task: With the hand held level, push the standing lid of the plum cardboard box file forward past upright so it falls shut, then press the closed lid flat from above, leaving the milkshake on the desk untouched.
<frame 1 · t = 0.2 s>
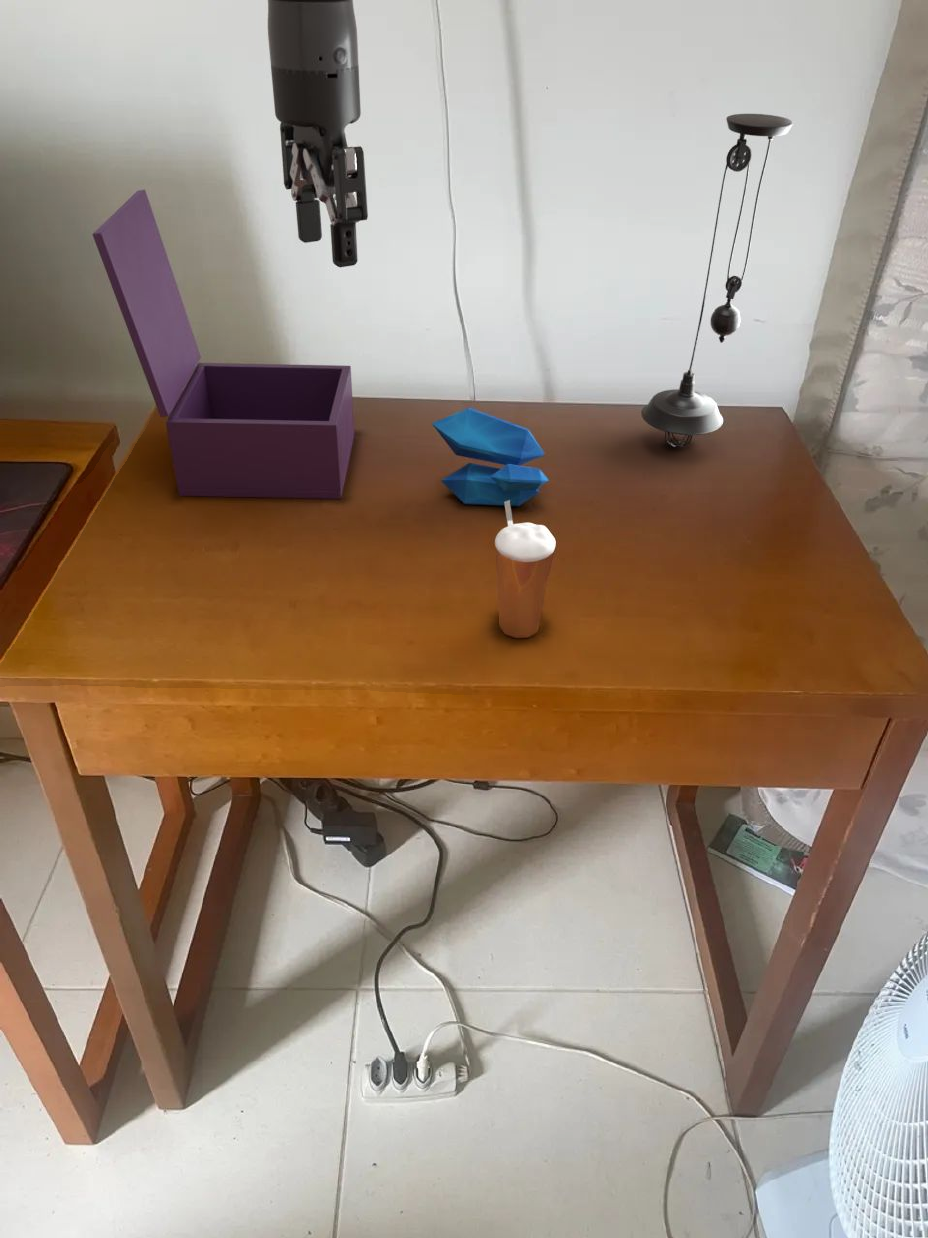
hand: (327, 252, 94), 19 cm above the table, tool pointing down, fingers open, 8 cm apart
light fixture: (682, 445, 105), on the table
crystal: (488, 499, 95), on the table
box file: (271, 463, 100), on the table
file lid: (152, 302, 90), point 16 cm above the table, hinge at 100.0°
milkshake: (516, 625, 79), on the table
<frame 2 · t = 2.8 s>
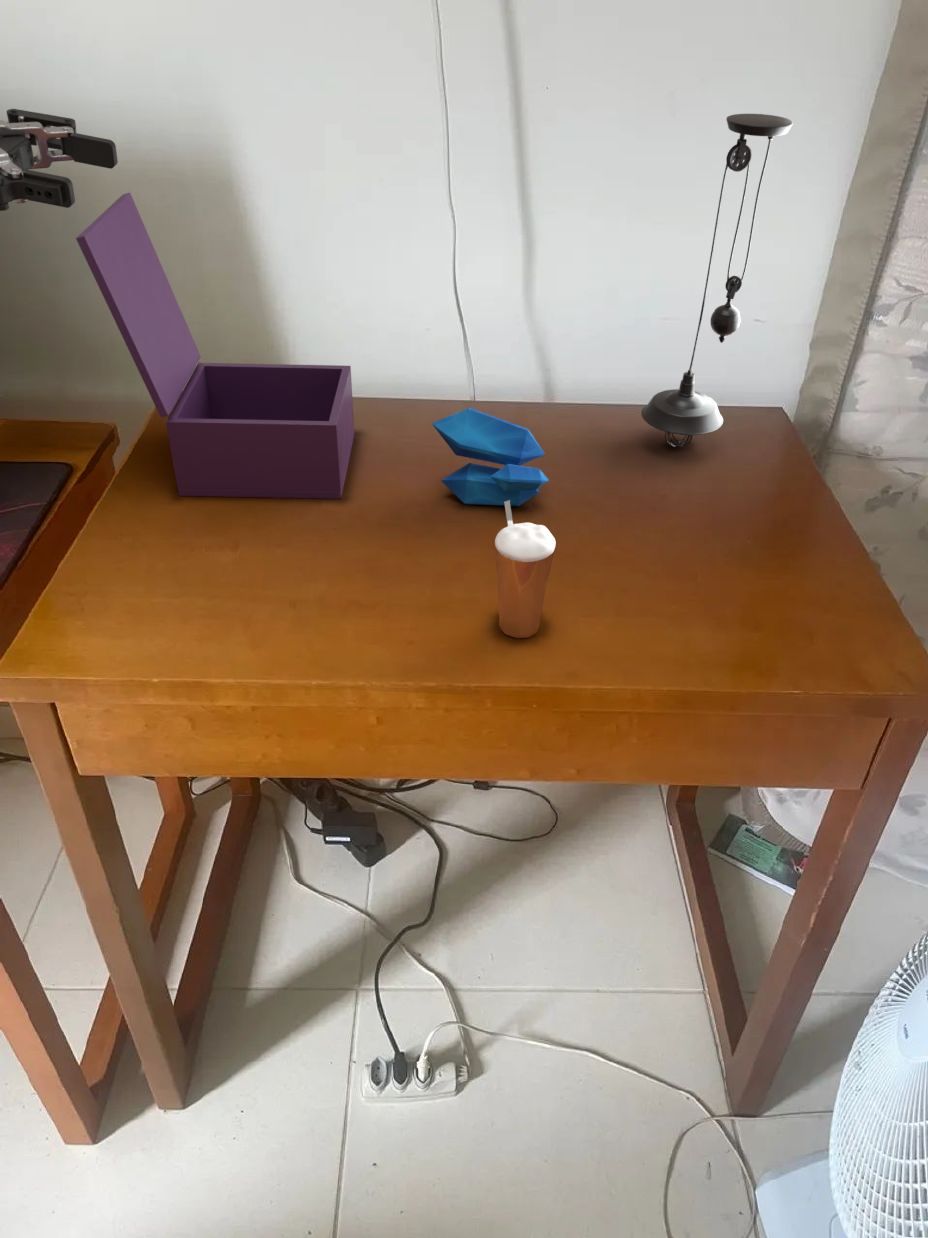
hand: (94, 173, 82), 28 cm above the table, tool horizontal, fingers open, 8 cm apart
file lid: (145, 304, 90), point 16 cm above the table, hinge at 105.1°
everything else where it was.
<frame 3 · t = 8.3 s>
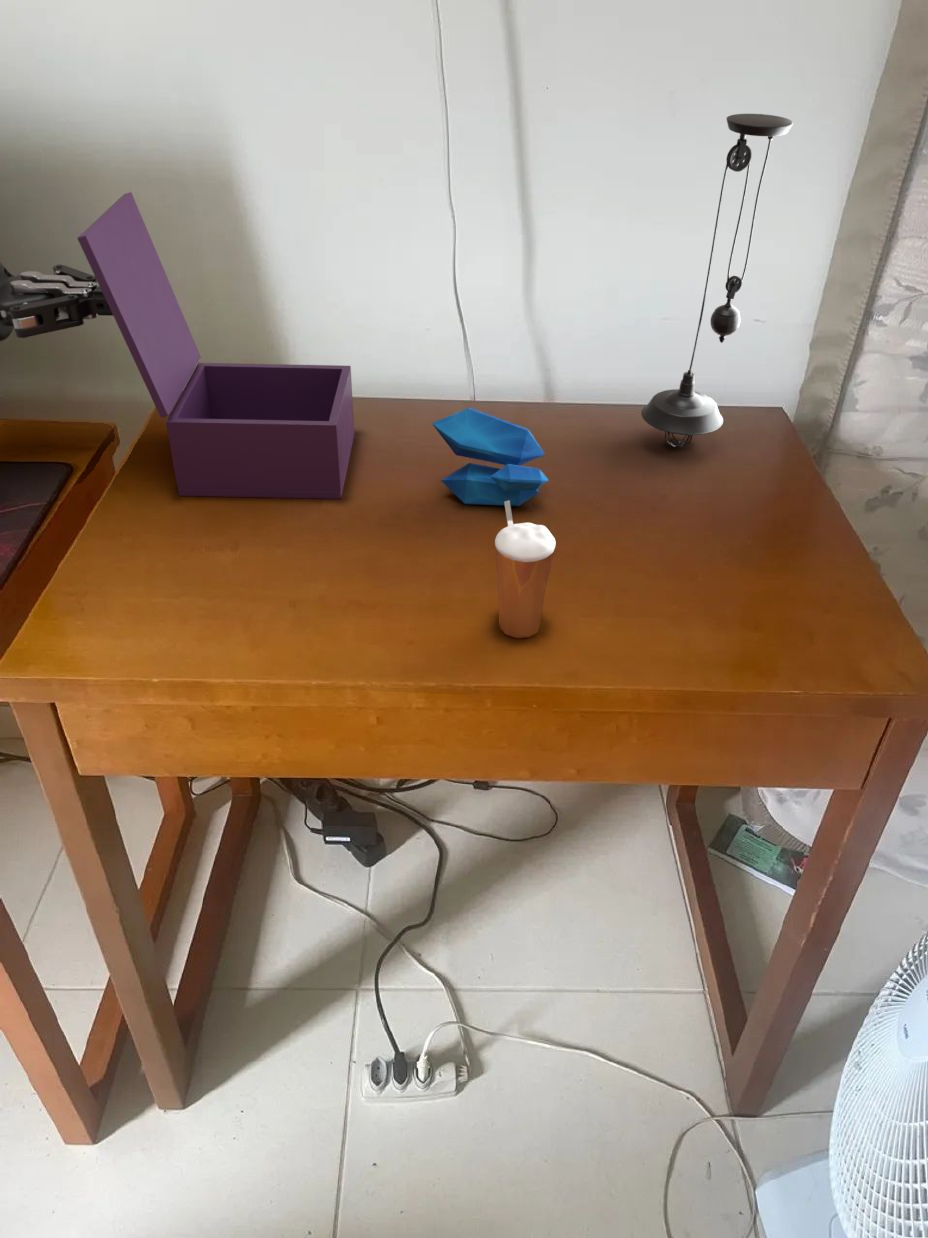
hand: (138, 301, 90), 16 cm above the table, tool horizontal, fingers closed
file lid: (146, 304, 90), point 16 cm above the table, hinge at 104.6°, touching gripper
everything else where it was.
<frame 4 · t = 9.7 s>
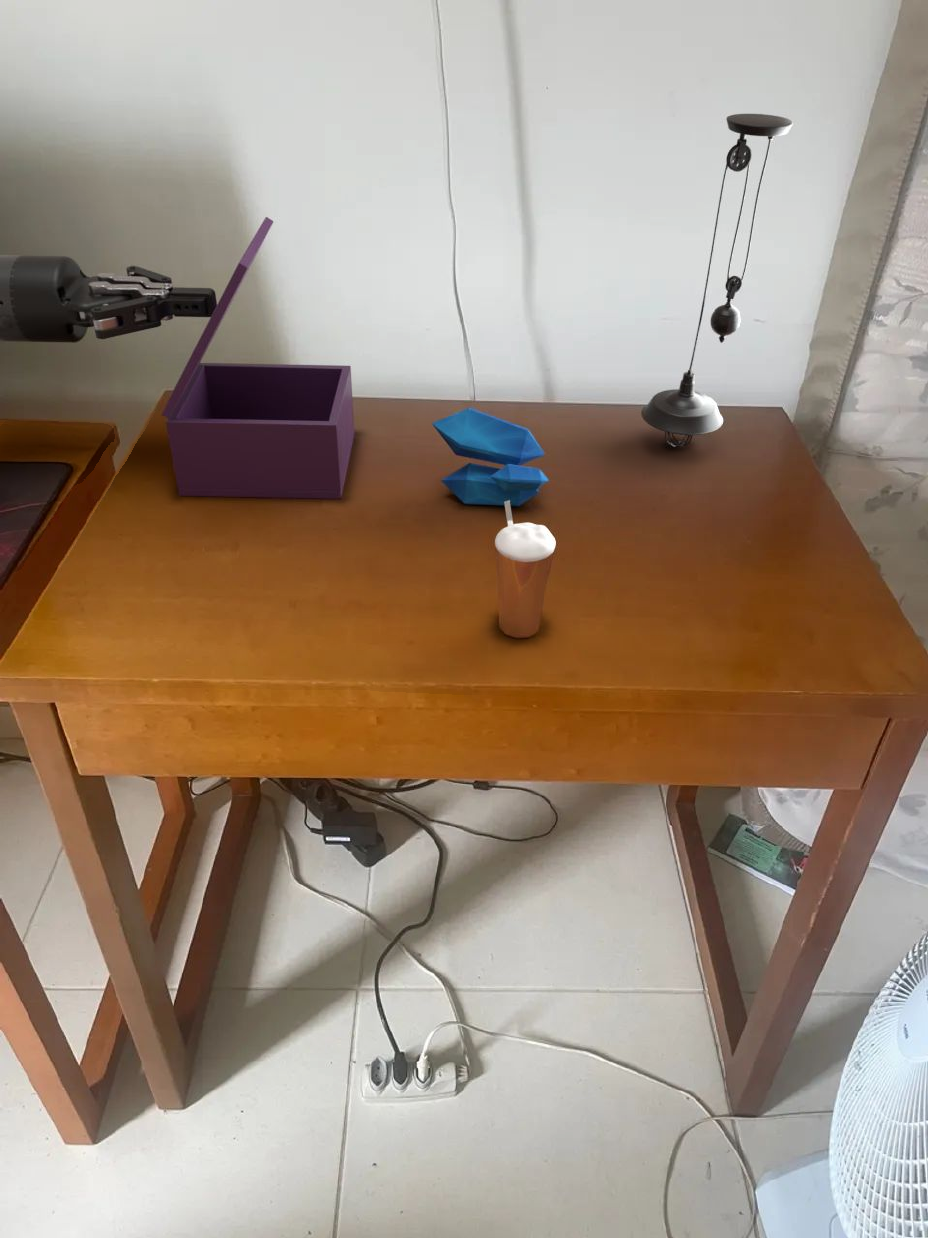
hand: (214, 302, 90), 16 cm above the table, tool horizontal, fingers closed
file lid: (218, 316, 91), point 15 cm above the table, hinge at 57.5°
everything else where it was.
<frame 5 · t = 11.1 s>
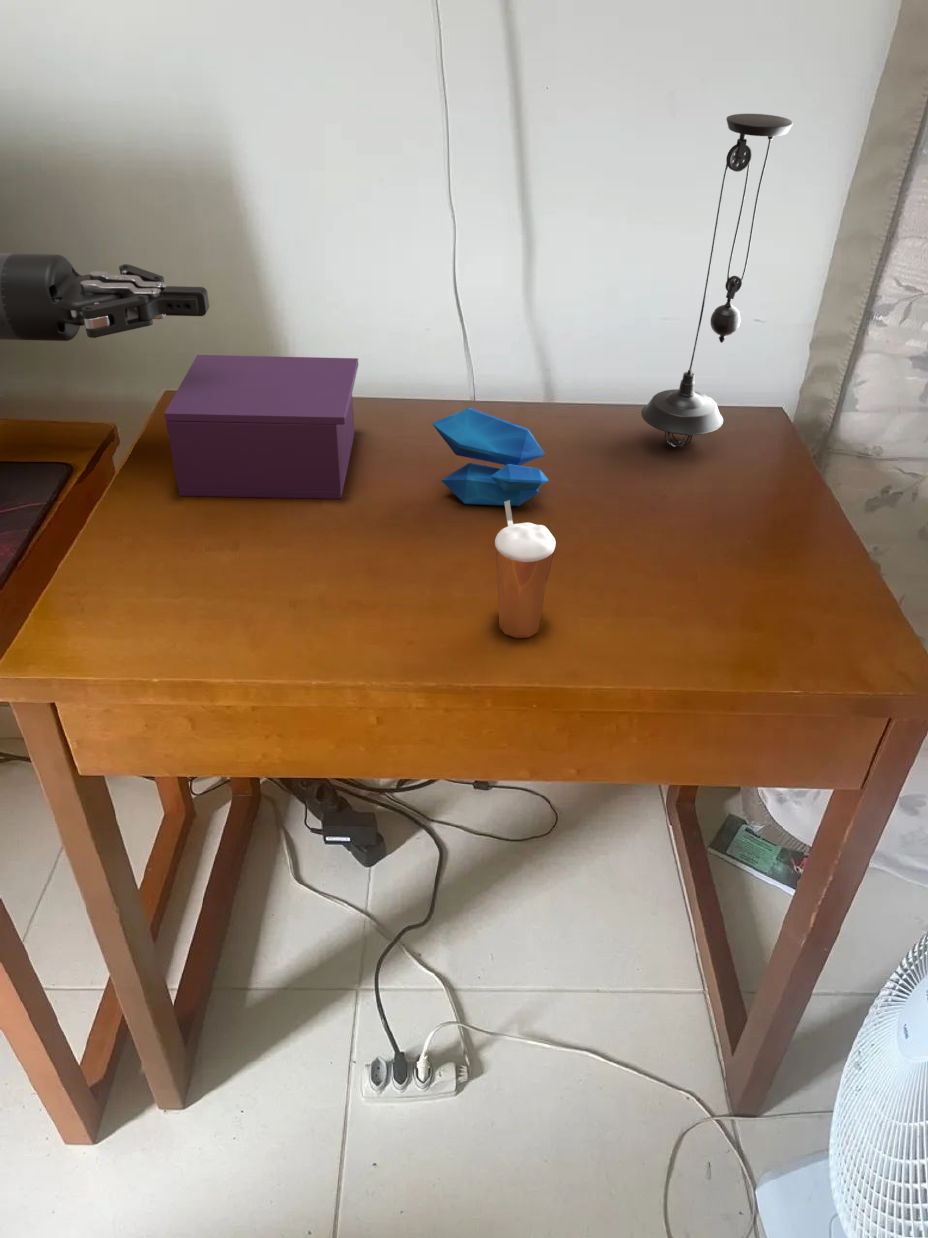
hand: (206, 301, 90), 17 cm above the table, tool horizontal, fingers closed
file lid: (267, 387, 95), point 8 cm above the table, hinge at -0.2°
everything else where it was.
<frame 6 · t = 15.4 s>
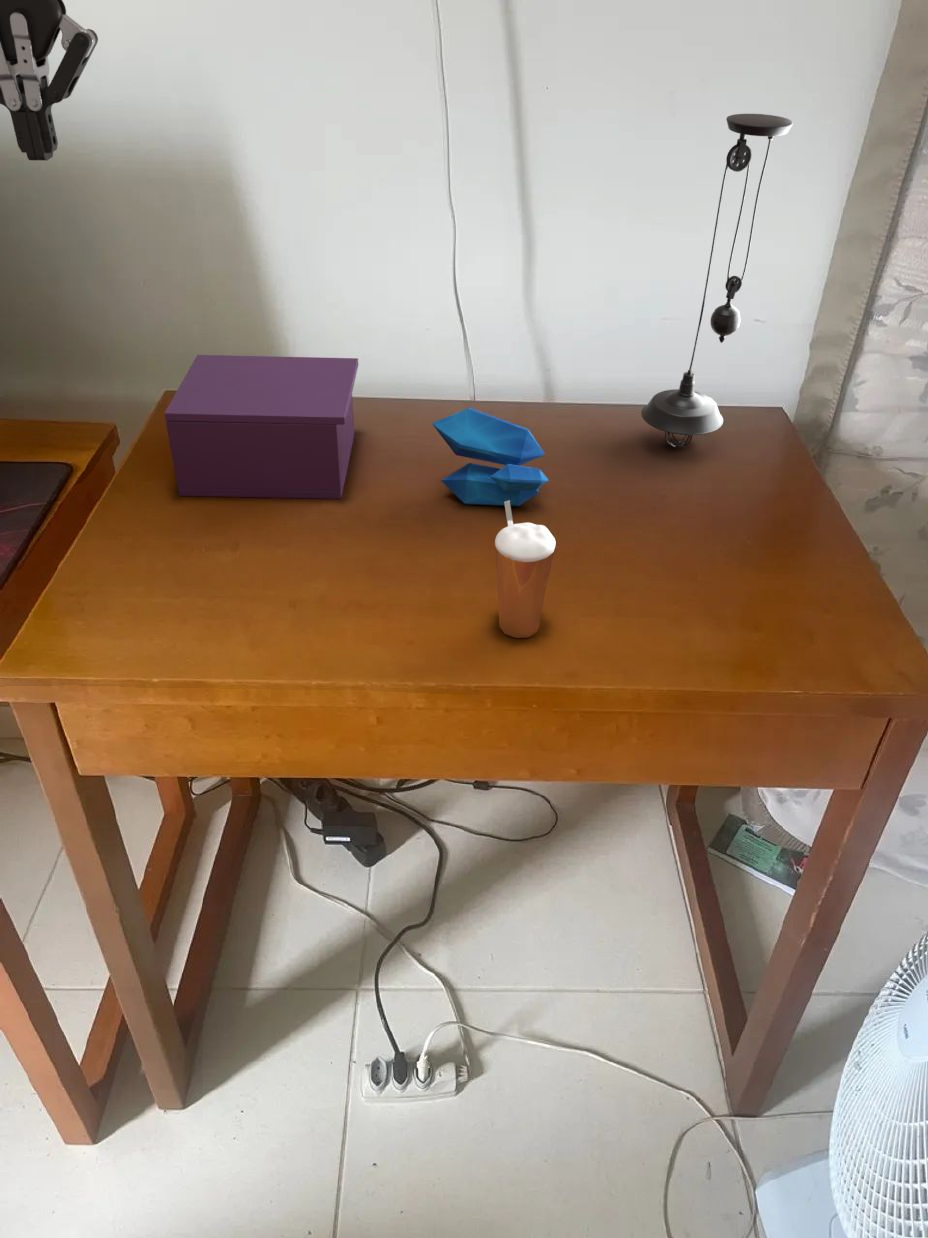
hand: (41, 158, 82), 28 cm above the table, tool pointing down, fingers closed
nothing on the table moved.
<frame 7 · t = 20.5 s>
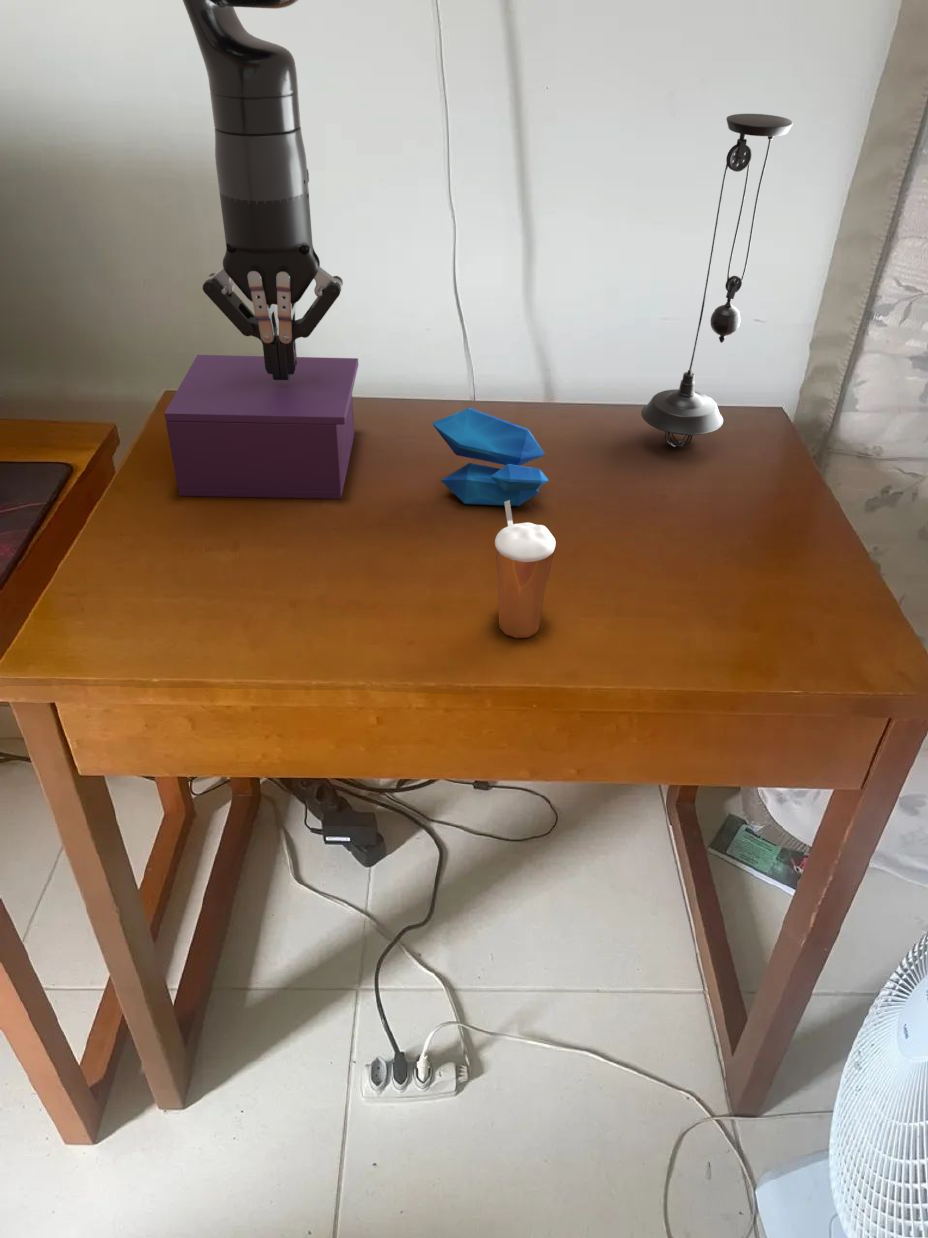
hand: (282, 376, 94), 9 cm above the table, tool pointing down, fingers closed
nothing on the table moved.
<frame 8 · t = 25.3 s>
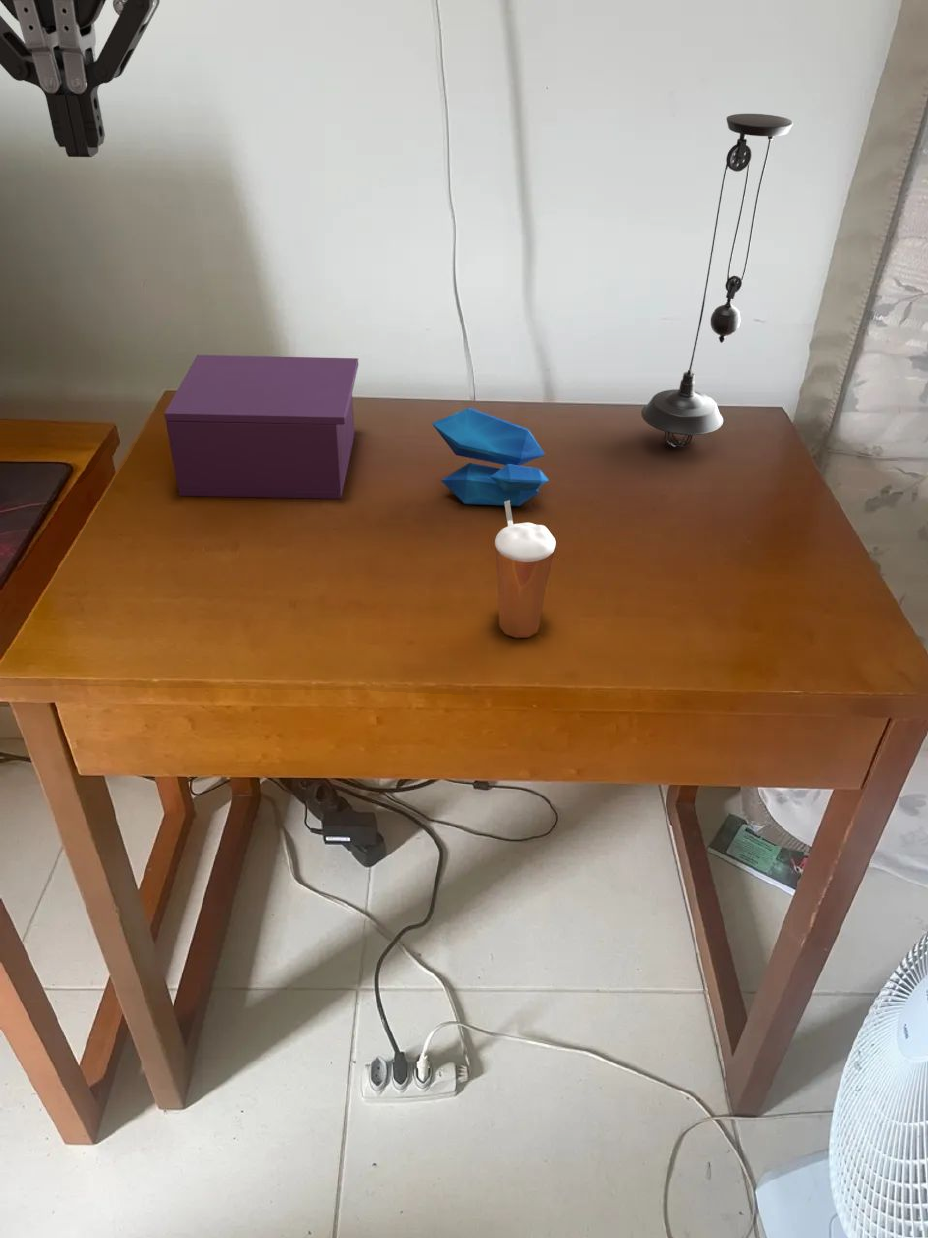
hand: (84, 154, 65), 33 cm above the table, tool pointing down, fingers closed
nothing on the table moved.
at the end: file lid at +0° (first picture: +100°); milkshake moved 0.2 cm from its start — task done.
